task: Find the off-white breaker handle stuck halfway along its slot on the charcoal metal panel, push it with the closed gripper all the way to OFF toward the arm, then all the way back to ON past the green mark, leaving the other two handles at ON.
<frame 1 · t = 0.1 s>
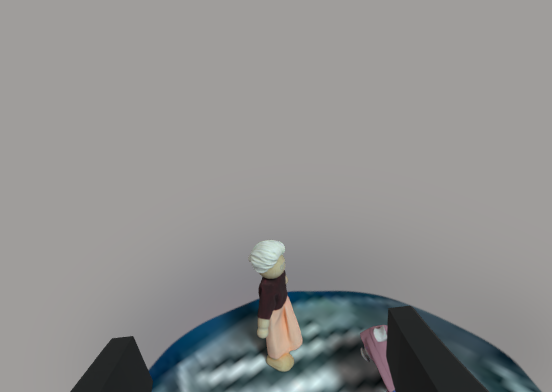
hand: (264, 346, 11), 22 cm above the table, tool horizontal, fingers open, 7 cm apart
grandmother figurine: (284, 349, 38), on the table
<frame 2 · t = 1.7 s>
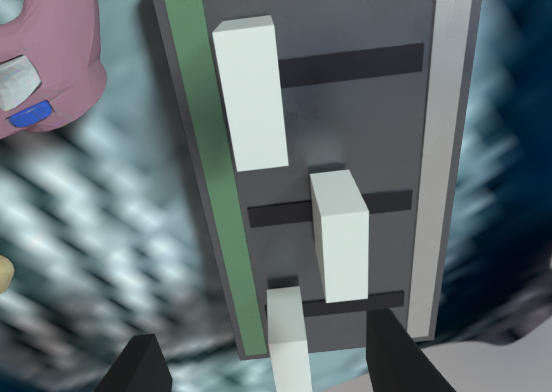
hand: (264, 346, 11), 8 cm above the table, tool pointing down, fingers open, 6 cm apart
breaker panel: (324, 191, 18), on the table
breaker 1: (254, 90, 12), point 4 cm above the table, slide at 5.0 cm
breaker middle: (337, 234, 15), point 3 cm above the table, slide at 2.5 cm
breaker 2: (289, 342, 18), point 4 cm above the table, slide at 5.0 cm
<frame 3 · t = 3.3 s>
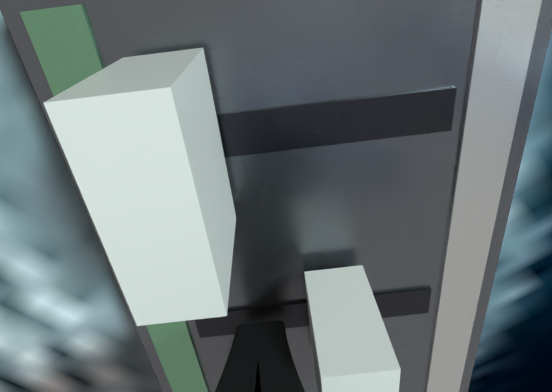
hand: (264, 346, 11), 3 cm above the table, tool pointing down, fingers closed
breaker panel: (306, 278, 13), on the table
breaker 1: (171, 179, 7), point 3 cm above the table, slide at 5.0 cm
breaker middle: (346, 366, 10), point 4 cm above the table, slide at 1.8 cm, touching gripper
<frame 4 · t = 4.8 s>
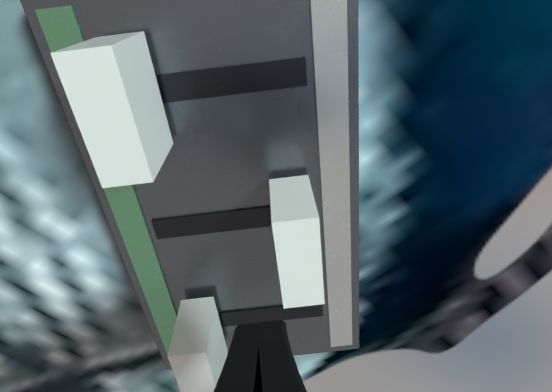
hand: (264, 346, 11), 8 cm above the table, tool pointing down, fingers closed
breaker panel: (236, 202, 18), on the table
breaker 1: (123, 107, 12), point 4 cm above the table, slide at 5.0 cm
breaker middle: (296, 239, 15), point 4 cm above the table, slide at -0.1 cm
breaker 2: (201, 353, 18), point 3 cm above the table, slide at 5.0 cm
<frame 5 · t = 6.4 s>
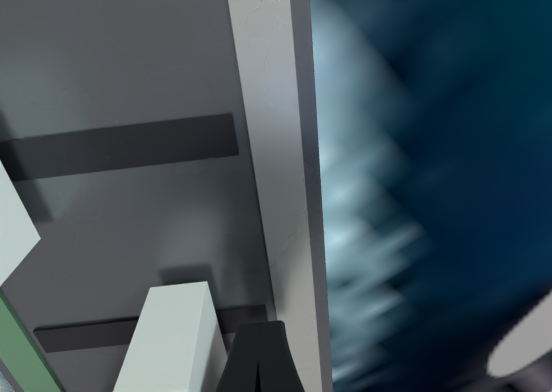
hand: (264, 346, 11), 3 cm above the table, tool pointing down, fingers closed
breaker panel: (163, 293, 13), on the table
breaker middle: (185, 382, 10), point 4 cm above the table, slide at 1.2 cm, touching gripper
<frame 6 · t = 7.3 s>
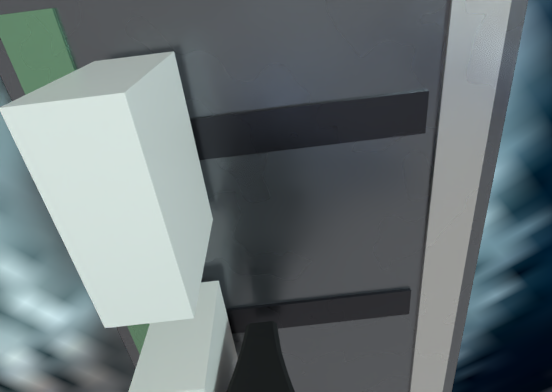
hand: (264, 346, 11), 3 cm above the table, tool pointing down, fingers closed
breaker panel: (289, 280, 13), on the table
breaker 1: (141, 182, 7), point 3 cm above the table, slide at 5.0 cm
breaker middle: (197, 381, 10), point 3 cm above the table, slide at 5.2 cm, touching gripper
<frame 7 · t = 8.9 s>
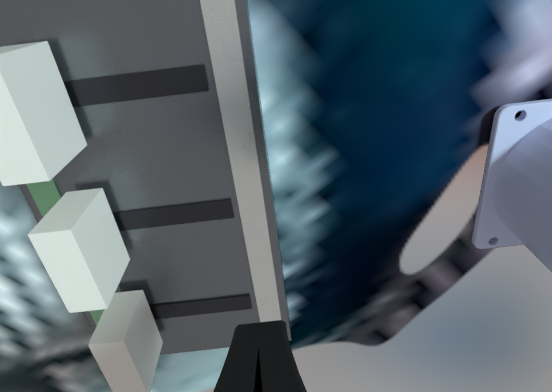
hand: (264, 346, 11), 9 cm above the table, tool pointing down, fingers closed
breaker panel: (163, 200, 19), on the table
breaker 1: (25, 111, 13), point 4 cm above the table, slide at 5.0 cm
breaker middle: (86, 248, 16), point 4 cm above the table, slide at 5.1 cm
breaker 2: (130, 343, 19), point 4 cm above the table, slide at 5.0 cm
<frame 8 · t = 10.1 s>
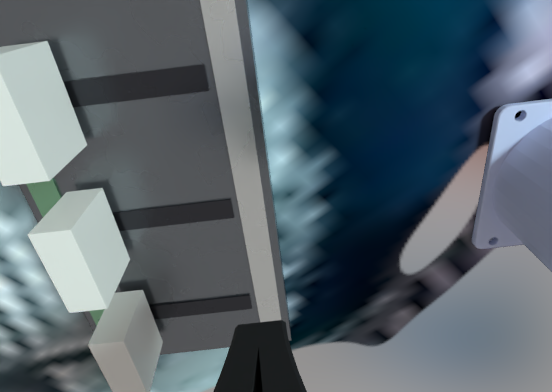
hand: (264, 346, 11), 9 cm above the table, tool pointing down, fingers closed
breaker panel: (163, 200, 19), on the table
breaker 1: (25, 111, 13), point 3 cm above the table, slide at 5.0 cm
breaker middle: (86, 248, 16), point 4 cm above the table, slide at 5.1 cm
breaker 2: (130, 343, 19), point 3 cm above the table, slide at 5.0 cm
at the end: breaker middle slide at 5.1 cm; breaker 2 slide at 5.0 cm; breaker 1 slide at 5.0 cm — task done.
